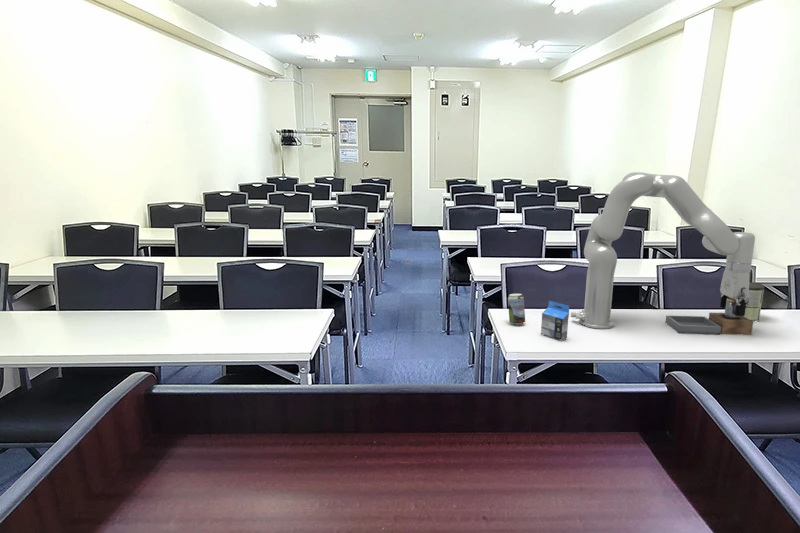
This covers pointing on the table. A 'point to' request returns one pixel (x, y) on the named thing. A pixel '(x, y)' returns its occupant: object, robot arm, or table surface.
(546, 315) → the label tape cartridge
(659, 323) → the table surface
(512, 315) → the beverage can
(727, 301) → the steel pin
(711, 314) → the block
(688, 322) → the tray
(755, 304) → the coffee can
